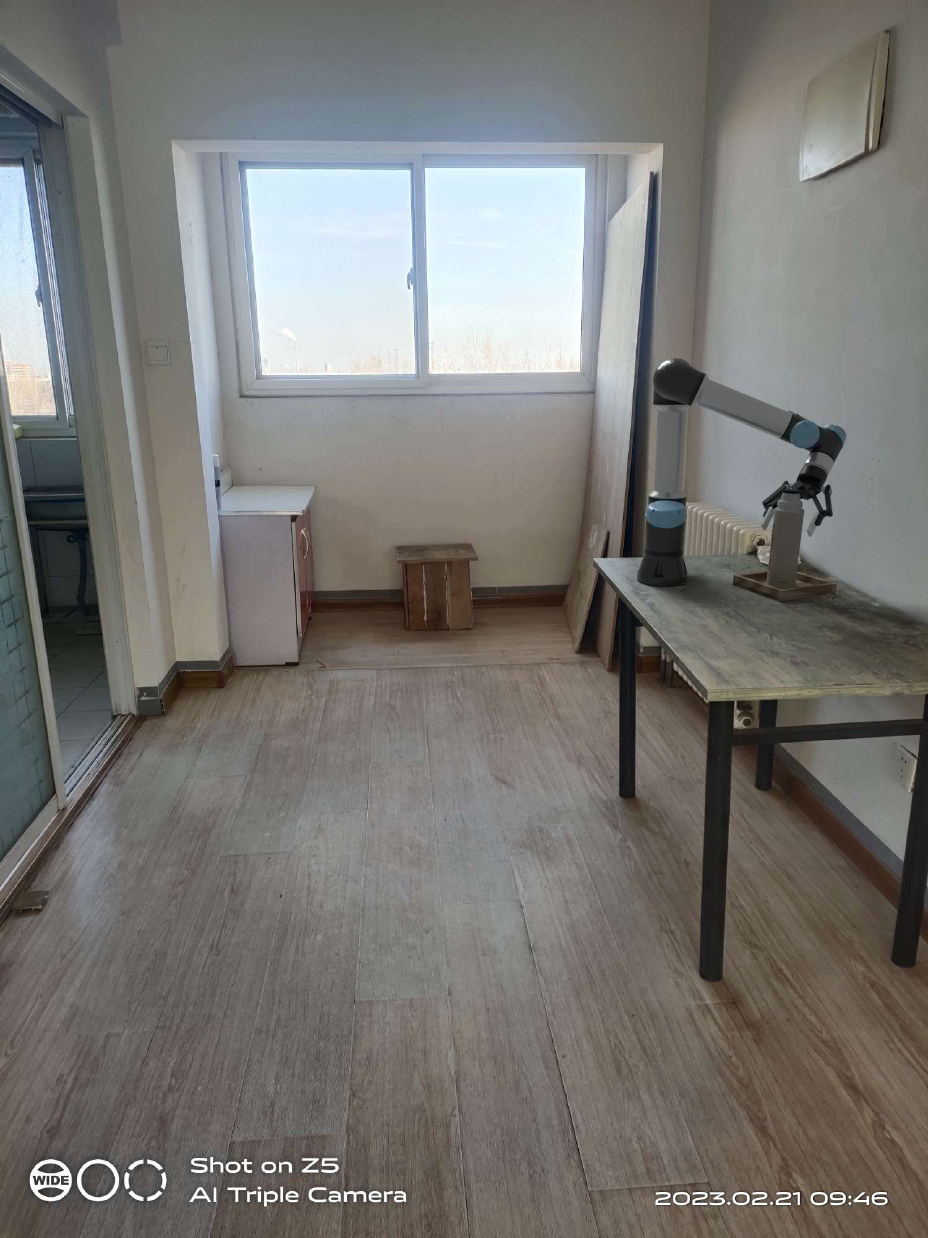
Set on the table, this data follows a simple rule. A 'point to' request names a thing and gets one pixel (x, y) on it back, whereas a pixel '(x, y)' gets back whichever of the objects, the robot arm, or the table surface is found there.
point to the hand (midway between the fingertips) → (785, 530)
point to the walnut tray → (802, 589)
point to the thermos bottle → (785, 540)
